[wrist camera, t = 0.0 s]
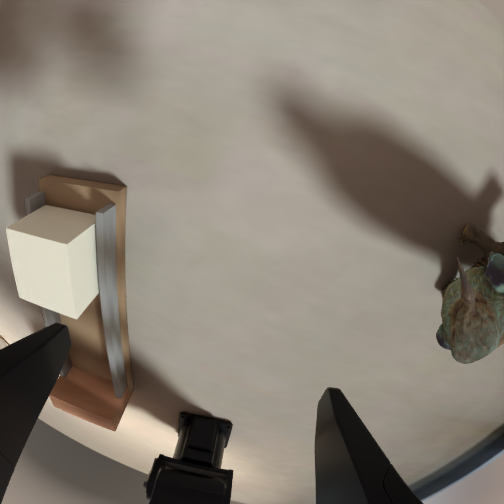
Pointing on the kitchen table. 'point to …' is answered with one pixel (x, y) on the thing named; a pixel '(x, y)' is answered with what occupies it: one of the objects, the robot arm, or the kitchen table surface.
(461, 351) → the bird figurine
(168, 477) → the robot arm
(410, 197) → the kitchen table surface
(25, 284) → the block
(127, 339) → the track
